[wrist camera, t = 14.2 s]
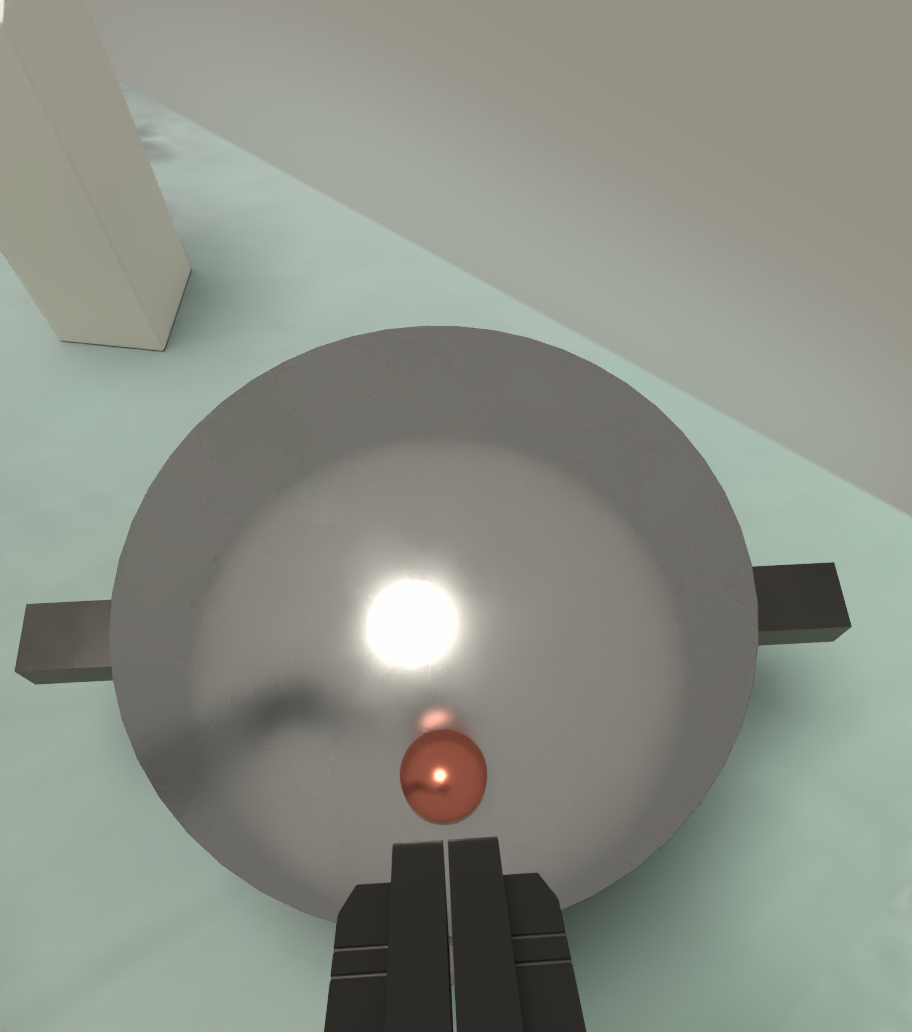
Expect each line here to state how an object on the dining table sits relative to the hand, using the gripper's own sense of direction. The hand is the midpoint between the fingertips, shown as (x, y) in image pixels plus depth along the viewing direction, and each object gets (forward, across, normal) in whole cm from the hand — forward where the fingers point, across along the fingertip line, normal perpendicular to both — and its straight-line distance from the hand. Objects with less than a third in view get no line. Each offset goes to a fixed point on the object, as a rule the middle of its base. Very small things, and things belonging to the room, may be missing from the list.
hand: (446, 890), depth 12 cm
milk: (+41, +16, -5) cm, 44 cm away
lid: (+17, 0, +3) cm, 17 cm away
